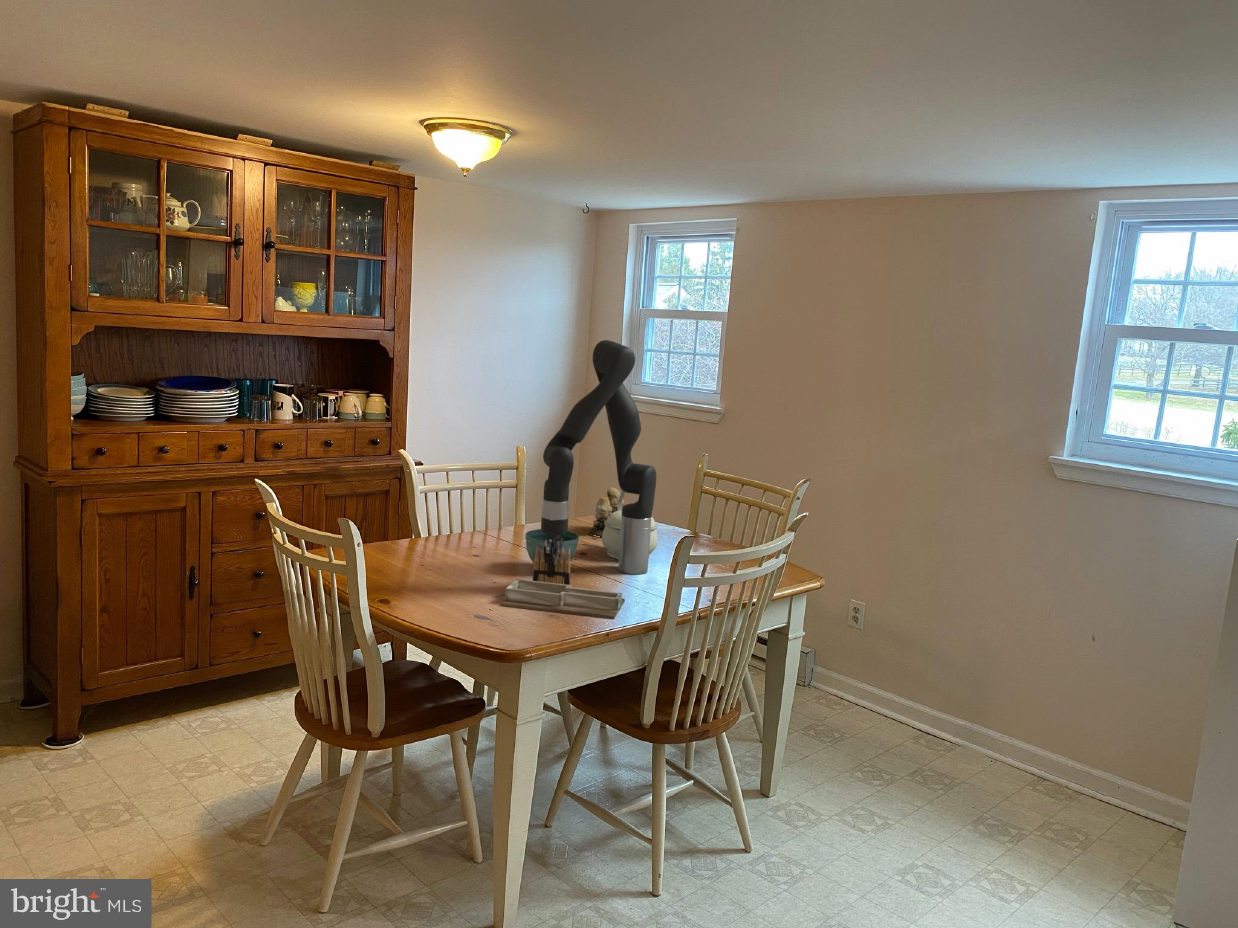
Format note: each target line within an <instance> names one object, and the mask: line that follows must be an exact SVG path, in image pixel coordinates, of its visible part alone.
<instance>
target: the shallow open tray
mask: <svg viewBox="0 0 1238 928" xmlns="http://www.w3.org/2000/svg"><path fill="white" fill-rule="evenodd" d="M504 597H505V598H504V600H503V601H502V602H501V606H502V607H509V608H518V609H526V610H534V611H543V612H552V613H559V614H568V615H577V616H584V615H586V617H593V616H594V617H593V618H603V619H609V620H610V619H611V620H615V619H616V617H617V615H618V614H619V611H620V610H621V609H622V607H623V605H624V603H625V601H626V599H625V598H623V593H622V592H616V591H606V590H600V589H598V590H597V589H590V588H581V587H572V584H570V585H565V584H564V583H563V584H556V583H547V582H538V581H532V580H527V579H520V578H515V580H514V581H513V582H511V584H509V585H508V586H507V587H506V588H505V596H504Z"/></svg>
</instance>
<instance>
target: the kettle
mask: <svg viewBox="0 0 1238 928" xmlns="http://www.w3.org/2000/svg"><path fill="white" fill-rule="evenodd" d="M620 493H621V494H620V497H619V500H618V511H616V512H614V513H612V514H611V515H610V516H609V517H608V519H607V520H605V521H604V524H605V525H606V526H605V528H604V531H603V534H602V538H601V543H602V545H603V548H604V549H605V550H606V551H607V552H606V553H607V556H608V555H609V556H608V557H609V558H611V557H612V559H614V558H616V559H615V560H617V559H619V547H620V532H621V516H622V500H624V497H625V494H626V493H627V492H624V491H622V490H621V491H620ZM631 503H632V502H630V503H629V504H631ZM658 527H659V526H658V524H657V523H656V522H655V519H654V518H653V516H652V517H651V531H650V546H649V557H650V558H651V554H652V553H653V552H654V551H655V550H656V549H657V546H658V543H659V536H658V532H657V529H658Z"/></svg>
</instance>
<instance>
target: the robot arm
mask: <svg viewBox="0 0 1238 928" xmlns="http://www.w3.org/2000/svg"><path fill="white" fill-rule="evenodd" d="M592 364H593V368H594V372H595V374H596V377H597V381H598V384H597V385H596V387H594V388H593V390H591V391H590V392H589V393H587V394H586V395H585V396H584V397H582V398H581V399H580V400H579V401H578V402H576V404H574V406H573V407H572V409H571V410H570V412H568V414H567V416H566V418H565V420H564V422H563V423H562V425H561V427H560V429H558V431H557V432H556V433H555V435H553V437H552V438H551V439H550V440H549V442H548V444H547V445H546V447H545V448H544V451H543V456H542V459H543V461H544V462H543V463H544V464H545V465H546V466H547V467H548V475H547V476H548V477H547V479H545V481H544V485H543V498H542V499H543V500H542V506H541V519H540V522H541V523H540V529H541V531H542V532H543V533H546V534H547V535H548V536H547V539H546V540H545V545H546V546H544V548H543V549H544V559H545V563H546V564H547V577H551V578H553V577H554V576H555V564H556V556H558V561H559V558H560V552H561V548H562V542H563V538H560V537H561V535H562V534H566V533H567V531H569V530H568V527H569V514H570V513H569V512H570V511H569V510H570V508H569V507H570V506H569V495H570V483H571V479H572V475H573V471H574V460H575V459H574V454H573V452H572V451H573V449H574V448H575V446H576V445H577V444H579V443H581V442H583V440H584V439H585V437H586V436H587V434H588V432H589V430H590V429H591V428H592V427H591V426H592V425H593V423H594V421H595V420H596V418H597V417H598V415H599V414H600V412H601V410H603V409H604V407H605V410H606V411H605V412H606V417H607V422H608V427H609V428H608V429H609V431H610V434H611V440H612V443H613V449H614V456H615V465H616V474H617V475H616V476H617V480H618V485H619V488H620V490H621V492H622V491H624V492H626V493H627V494H631V495H632V494H633V495H638V500H637V501H635V502H630V503H631V504H630V503H627V504H624V506H623V507H622V516H621V532H620V547H619V560H618V562H617V563H618V565H617V570H618V571H619V572H621V573H624V574H630V575H641V574H647V573H648V571H649V559H650V558H649V546H650V531H651V517H652V518H653V516H652V514H653V509H654V503H655V496H656V495H655V494H656V486H657V471H656V469H655V467H654V466H652V465H648V464H641V463H634V462H633V460H632V449H633V448H634V446H635V445H636V442H637V441H638V439H639V437H640V435H641V432H642V423H641V419H640V418H641V417H640V413H639V409H638V407H637V404H636V403H635V400H634V399H633V397H632V395H631V394H630V392H629V391H628V389H627V388H626V386H625V384H624V382H625V381H626V379H627V378H628V377H629V376H630V374H631V372H632V371H633V370H634V366H635V364H636V355H635V352H634V351H633V350H632V348H631V347H628V346H625V345H624V344H621V343H618V342H615V341H612V340H608V339H603V340H600V341H599V342H597V344H596V345H595V346H594V348H593V352H592ZM554 552H555V553H554ZM549 558H551V559H549Z"/></svg>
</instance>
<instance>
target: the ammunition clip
mask: <svg viewBox="0 0 1238 928" xmlns="http://www.w3.org/2000/svg"><path fill="white" fill-rule="evenodd" d="M543 548H544V546H543ZM543 548H542V554H541V560H540V555H539V554H540V551H539V546H538V545H537V548H536V552H535V559H534V563H533V570H532V580H531V581H538V582H547V583H556V584H565V585H571V565H572V564H571V562H570V549H569V548H568V550H567V554H566V561H565V571H564V549H563V547H562V549H561V552H560V559H559V567H558V556H556V564H555V576H554V577H553V578H552V577H547V564H546V563H545V559H544V549H543ZM554 553H555V552H554ZM549 559H551V558H549Z"/></svg>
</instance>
